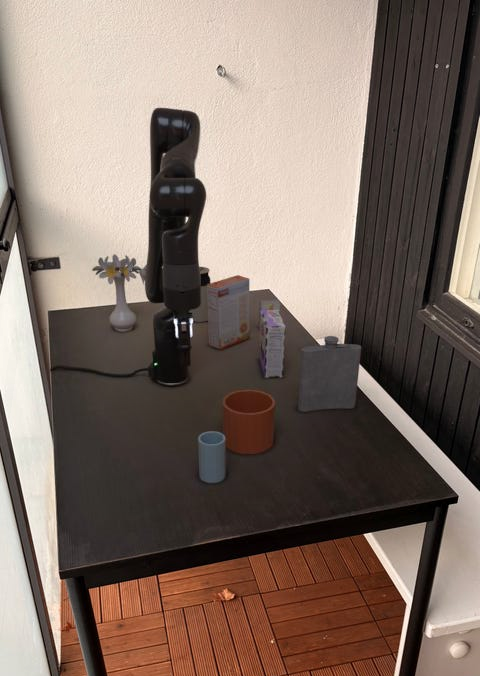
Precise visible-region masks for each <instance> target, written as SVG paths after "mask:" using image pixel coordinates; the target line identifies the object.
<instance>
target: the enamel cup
mask: <svg viewBox="0 0 480 676" xmlns="http://www.w3.org/2000/svg"><path fill="white" fill-rule="evenodd" d="M197 446H198V447H197V450H198V451H197V452H198V454H197V455H198V477H199V479H200V480H201V481H202V482H203V483H206V484H207V483H208V484H217V483H220V482H222V481H223V480H224V479H225V478H226V475H227V453H226V452H227V450H226V449H227V447H226V438H225V436H224V435H223V432H219V431H214V430H211V431H209V430H208V431H205V432H202V433H201V434H199V435H198V437H197Z"/></svg>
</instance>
